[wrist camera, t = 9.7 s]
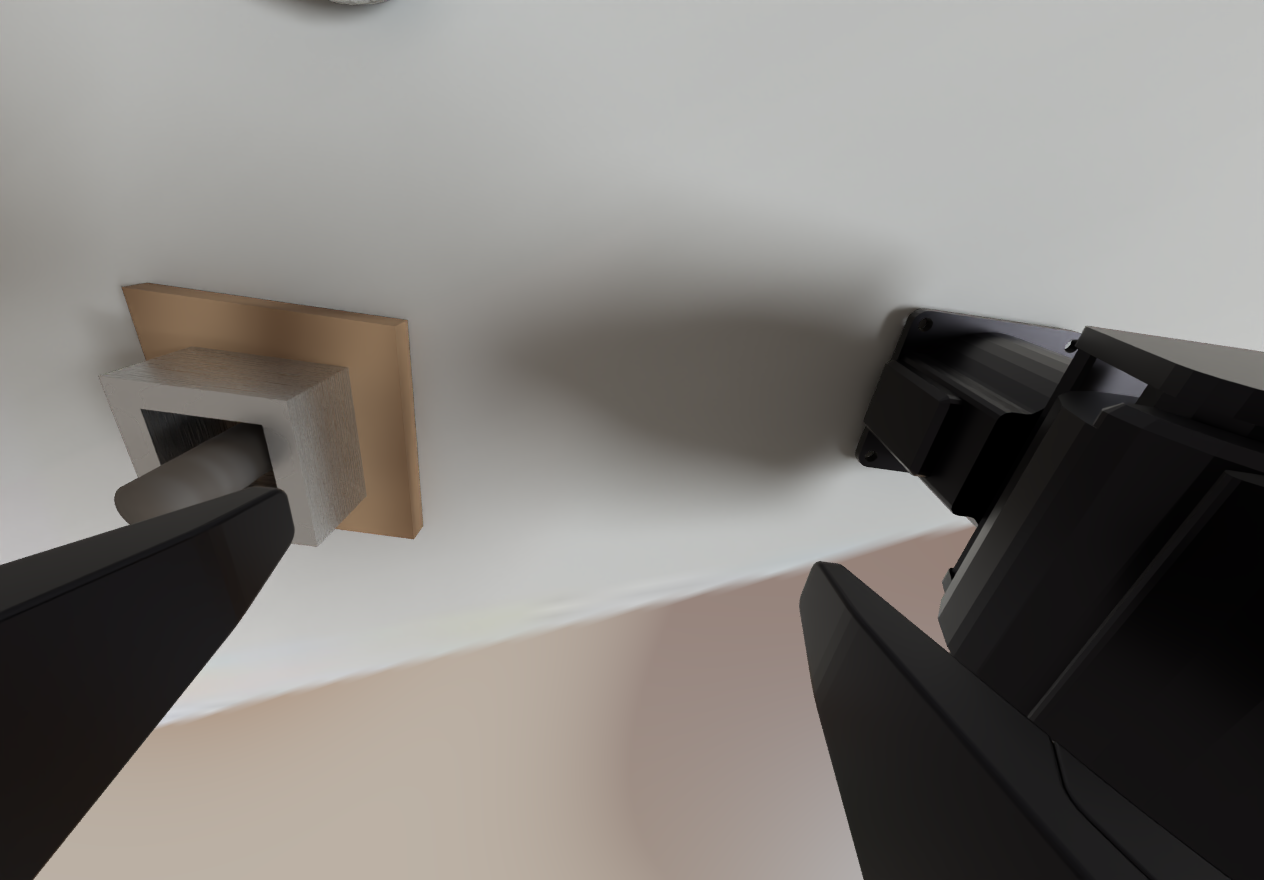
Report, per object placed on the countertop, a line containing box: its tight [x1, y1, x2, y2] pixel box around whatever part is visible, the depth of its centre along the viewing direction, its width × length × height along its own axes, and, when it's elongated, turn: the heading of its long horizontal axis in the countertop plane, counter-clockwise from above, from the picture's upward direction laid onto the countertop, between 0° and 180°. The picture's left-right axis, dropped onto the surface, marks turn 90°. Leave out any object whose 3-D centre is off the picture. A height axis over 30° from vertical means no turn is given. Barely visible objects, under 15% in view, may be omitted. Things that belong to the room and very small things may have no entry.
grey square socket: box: [98, 346, 367, 547], centre depth 18 cm, size 6×6×4 cm
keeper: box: [114, 283, 423, 539], centre depth 18 cm, size 10×10×7 cm
